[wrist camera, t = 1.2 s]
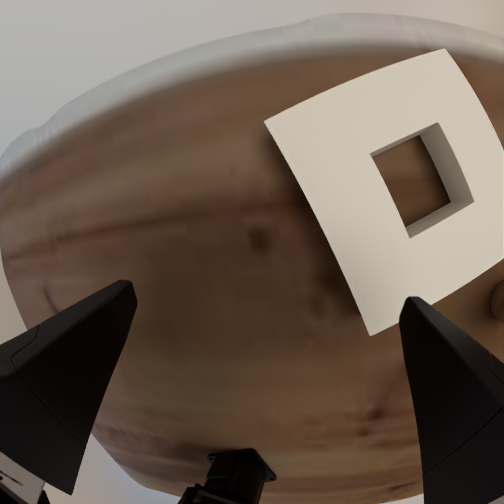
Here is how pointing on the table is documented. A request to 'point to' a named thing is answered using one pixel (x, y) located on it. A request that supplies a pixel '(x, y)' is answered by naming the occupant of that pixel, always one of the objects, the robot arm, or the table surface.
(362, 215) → the white board
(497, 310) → the walnut peg
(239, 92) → the table surface
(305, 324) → the table surface
